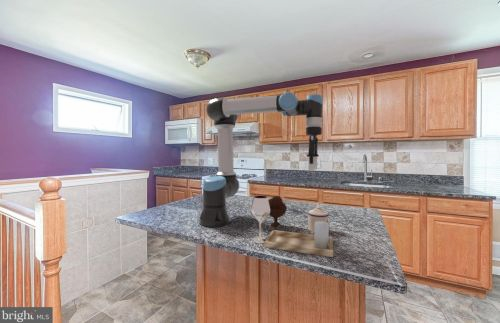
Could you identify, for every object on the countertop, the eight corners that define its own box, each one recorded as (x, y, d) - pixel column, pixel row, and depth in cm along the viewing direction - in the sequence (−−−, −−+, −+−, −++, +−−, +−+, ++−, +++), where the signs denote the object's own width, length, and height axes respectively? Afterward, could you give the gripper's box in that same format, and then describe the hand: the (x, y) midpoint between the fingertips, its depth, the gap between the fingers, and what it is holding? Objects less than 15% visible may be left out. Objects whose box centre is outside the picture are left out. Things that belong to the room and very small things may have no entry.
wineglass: (268, 245, 87) (269, 199, 86) (248, 243, 89) (248, 198, 88) (271, 237, 95) (271, 195, 94) (252, 235, 97) (252, 194, 96)
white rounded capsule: (313, 248, 81) (314, 224, 81) (314, 243, 86) (314, 220, 85) (328, 250, 79) (328, 225, 79) (328, 245, 84) (328, 221, 84)
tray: (264, 250, 82) (264, 242, 82) (272, 236, 96) (272, 229, 96) (333, 260, 75) (333, 251, 75) (332, 244, 88) (332, 237, 88)
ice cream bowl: (290, 225, 111) (291, 195, 111) (277, 230, 103) (278, 198, 103) (273, 220, 119) (274, 192, 118) (260, 225, 111) (260, 195, 110)
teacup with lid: (330, 236, 97) (330, 209, 97) (308, 234, 98) (309, 208, 98) (325, 227, 109) (325, 203, 108) (306, 226, 110) (306, 202, 110)
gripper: (319, 123, 97) (318, 172, 98) (323, 129, 120) (322, 168, 121) (302, 123, 99) (301, 171, 100) (309, 129, 123) (308, 168, 123)
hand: (312, 169), depth 110 cm, fingers open, 13 cm apart
